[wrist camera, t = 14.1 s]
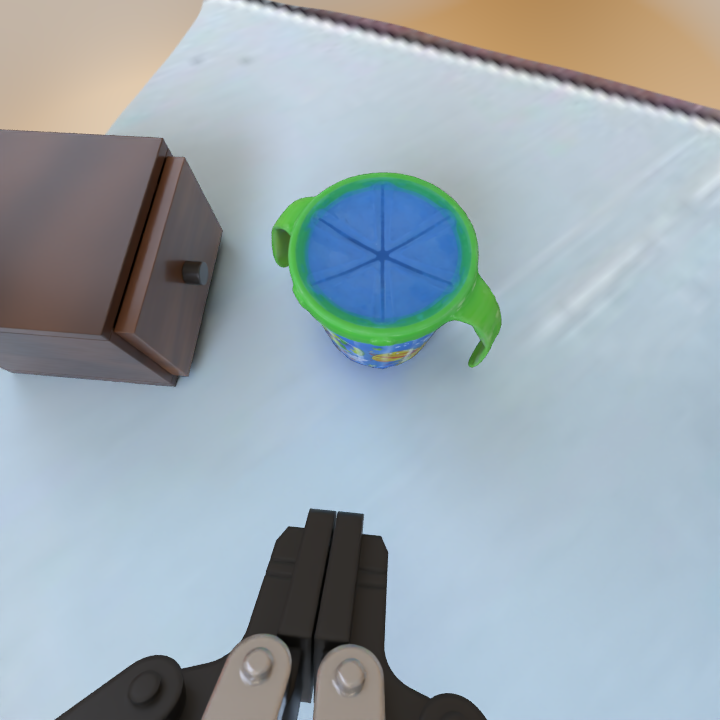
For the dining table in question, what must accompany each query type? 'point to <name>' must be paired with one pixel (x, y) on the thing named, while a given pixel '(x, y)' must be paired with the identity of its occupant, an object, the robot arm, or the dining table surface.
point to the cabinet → (73, 251)
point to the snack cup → (385, 266)
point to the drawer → (171, 271)
